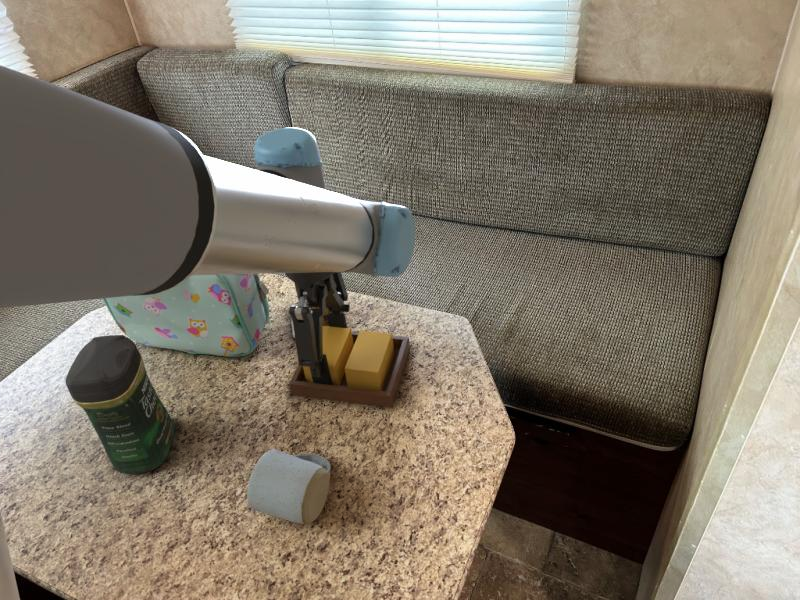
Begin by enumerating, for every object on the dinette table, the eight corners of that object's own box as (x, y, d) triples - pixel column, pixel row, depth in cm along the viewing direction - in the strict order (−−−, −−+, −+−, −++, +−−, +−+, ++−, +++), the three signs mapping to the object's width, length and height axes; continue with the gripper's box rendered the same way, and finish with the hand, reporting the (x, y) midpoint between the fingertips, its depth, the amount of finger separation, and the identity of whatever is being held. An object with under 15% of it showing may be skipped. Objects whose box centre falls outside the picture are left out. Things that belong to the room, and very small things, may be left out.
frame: (391, 408, 88) (389, 396, 87) (292, 395, 92) (288, 383, 90) (410, 348, 98) (408, 336, 96) (319, 339, 101) (316, 327, 100)
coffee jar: (167, 474, 83) (115, 380, 71) (109, 479, 83) (48, 386, 71) (182, 418, 90) (139, 325, 78) (130, 423, 90) (78, 331, 78)
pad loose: (339, 387, 91) (334, 366, 89) (306, 383, 93) (301, 362, 90) (354, 348, 98) (351, 328, 95) (324, 345, 99) (320, 325, 96)
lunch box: (287, 324, 105) (259, 218, 91) (262, 367, 97) (228, 258, 84) (152, 309, 111) (107, 208, 97) (119, 348, 103) (66, 244, 90)
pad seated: (381, 393, 90) (378, 372, 87) (348, 389, 91) (344, 368, 88) (394, 353, 96) (392, 333, 93) (363, 350, 97) (360, 330, 95)
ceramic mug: (312, 539, 73) (301, 502, 69) (253, 521, 76) (239, 485, 71) (346, 468, 81) (338, 431, 76) (292, 454, 84) (281, 417, 79)
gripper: (306, 297, 72) (334, 420, 86) (356, 205, 88) (373, 322, 102) (248, 292, 74) (285, 413, 88) (307, 202, 89) (331, 318, 104)
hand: (332, 364), depth 95 cm, fingers closed on pad loose, 8 cm apart
